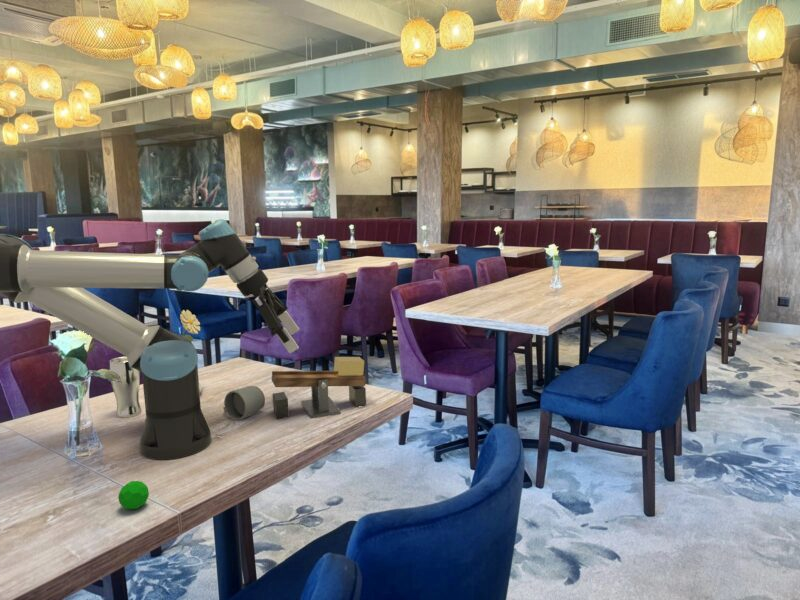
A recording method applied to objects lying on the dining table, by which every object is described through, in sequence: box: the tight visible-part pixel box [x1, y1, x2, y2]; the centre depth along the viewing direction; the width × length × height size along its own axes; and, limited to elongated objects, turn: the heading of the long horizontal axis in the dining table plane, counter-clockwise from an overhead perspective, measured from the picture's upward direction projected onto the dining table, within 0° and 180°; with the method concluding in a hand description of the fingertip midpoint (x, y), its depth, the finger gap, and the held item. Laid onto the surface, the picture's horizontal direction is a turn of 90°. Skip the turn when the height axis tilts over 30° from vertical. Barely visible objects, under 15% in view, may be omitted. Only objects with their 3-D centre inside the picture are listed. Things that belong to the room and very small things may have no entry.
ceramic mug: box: [223, 385, 266, 421], centre depth 147 cm, size 11×8×8 cm
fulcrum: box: [272, 379, 367, 420], centre depth 150 cm, size 24×12×9 cm, turn 111°
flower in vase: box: [179, 309, 203, 393], centre depth 161 cm, size 13×11×25 cm
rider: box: [333, 356, 365, 377], centre depth 152 cm, size 7×5×5 cm, turn 111°
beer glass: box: [109, 355, 142, 419], centre depth 148 cm, size 7×7×15 cm
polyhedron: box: [117, 480, 150, 510], centre depth 102 cm, size 5×5×5 cm
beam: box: [271, 370, 367, 388], centre depth 149 cm, size 24×7×2 cm, turn 111°
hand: (295, 341), depth 148 cm, fingers open, 13 cm apart
